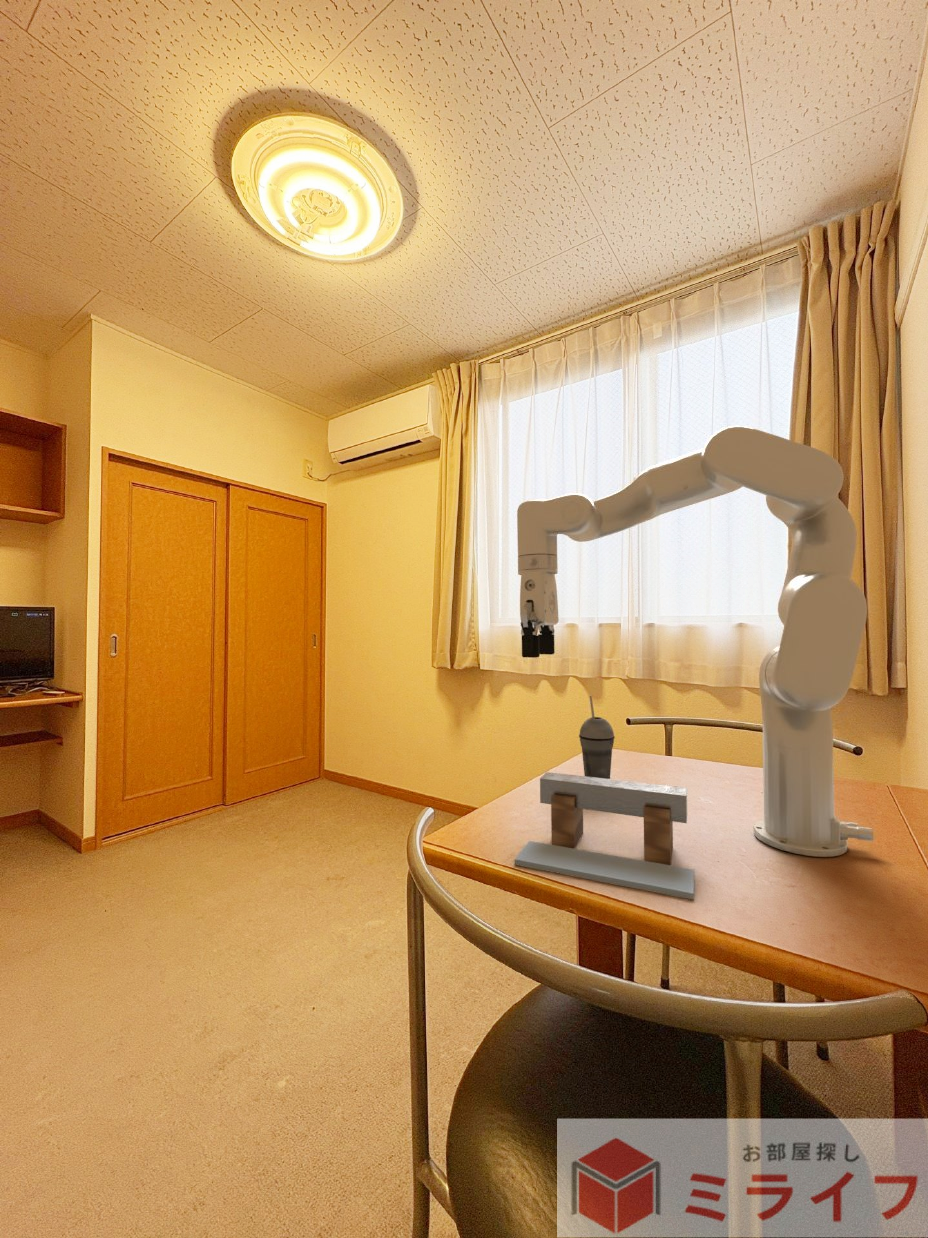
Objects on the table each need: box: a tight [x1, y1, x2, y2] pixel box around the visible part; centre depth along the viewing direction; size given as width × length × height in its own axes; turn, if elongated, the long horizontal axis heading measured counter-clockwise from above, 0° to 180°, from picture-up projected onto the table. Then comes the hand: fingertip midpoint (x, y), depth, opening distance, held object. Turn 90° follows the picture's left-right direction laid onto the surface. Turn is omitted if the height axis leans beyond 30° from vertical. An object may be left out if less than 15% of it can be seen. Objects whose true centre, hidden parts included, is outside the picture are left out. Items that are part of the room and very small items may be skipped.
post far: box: [550, 794, 584, 849], centre depth 84 cm, size 4×7×8 cm, turn 155°
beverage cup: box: [578, 695, 616, 779], centre depth 108 cm, size 7×7×20 cm
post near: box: [643, 806, 674, 866], centre depth 79 cm, size 4×7×8 cm, turn 155°
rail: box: [539, 771, 688, 824], centre depth 82 cm, size 22×4×4 cm, turn 65°
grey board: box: [514, 840, 695, 901], centre depth 74 cm, size 24×7×1 cm, turn 65°
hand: (538, 655), depth 99 cm, fingers open, 9 cm apart
